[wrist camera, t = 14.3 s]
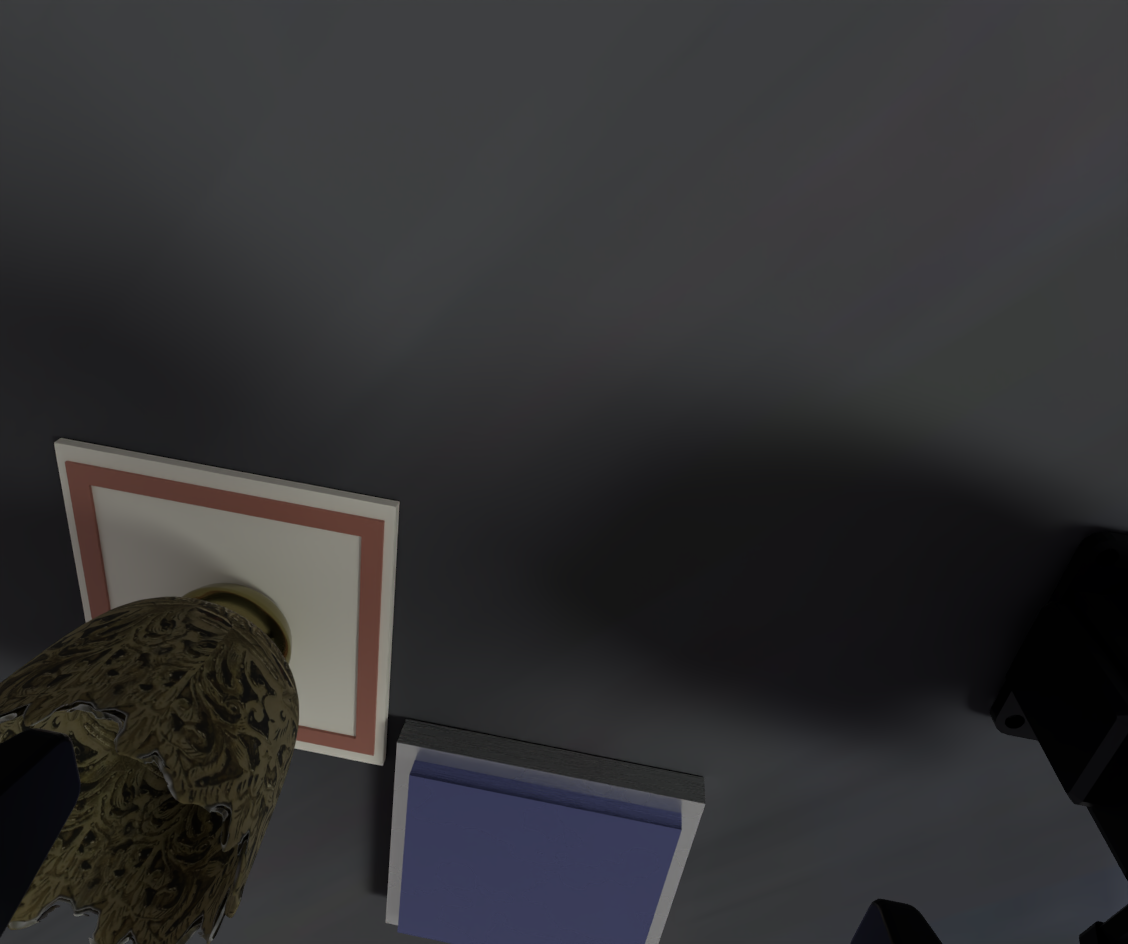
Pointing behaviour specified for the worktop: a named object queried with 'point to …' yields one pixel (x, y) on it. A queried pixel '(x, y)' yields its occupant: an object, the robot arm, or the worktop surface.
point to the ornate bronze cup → (162, 758)
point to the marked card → (250, 569)
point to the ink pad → (533, 841)
